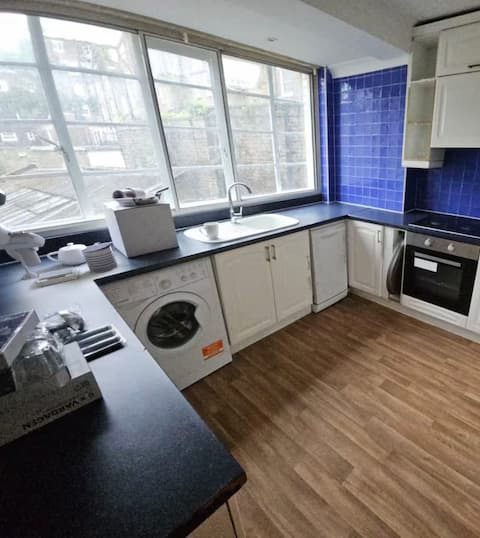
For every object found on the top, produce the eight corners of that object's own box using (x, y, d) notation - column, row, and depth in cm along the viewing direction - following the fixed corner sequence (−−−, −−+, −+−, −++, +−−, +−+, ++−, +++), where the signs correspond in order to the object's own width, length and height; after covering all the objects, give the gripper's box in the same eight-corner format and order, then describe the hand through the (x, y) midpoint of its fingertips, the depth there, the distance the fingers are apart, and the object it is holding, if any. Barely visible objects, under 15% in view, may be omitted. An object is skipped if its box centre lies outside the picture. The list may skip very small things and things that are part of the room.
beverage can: (23, 267, 124) (9, 240, 119) (29, 263, 128) (16, 237, 123) (38, 265, 125) (25, 238, 121) (44, 261, 129) (31, 235, 125)
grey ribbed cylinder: (111, 271, 147) (102, 248, 142) (85, 274, 144) (75, 251, 140) (122, 263, 157) (114, 241, 152) (97, 265, 155) (88, 243, 150)
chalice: (41, 272, 147) (24, 238, 140) (41, 276, 143) (23, 241, 136) (20, 277, 143) (1, 242, 135) (19, 281, 138) (-1, 245, 131)
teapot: (51, 271, 149) (42, 251, 145) (52, 263, 158) (43, 245, 154) (106, 259, 162) (99, 241, 158) (104, 253, 172) (97, 235, 167)
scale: (38, 287, 132) (35, 281, 131) (41, 278, 140) (39, 273, 139) (77, 278, 140) (74, 273, 139) (77, 271, 148) (75, 266, 147)
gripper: (28, 225, 115) (57, 241, 127) (-35, 228, 111) (1, 245, 124) (24, 239, 112) (54, 254, 125) (-41, 243, 109) (-3, 258, 121)
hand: (27, 249), depth 124 cm, fingers closed on beverage can, 5 cm apart
